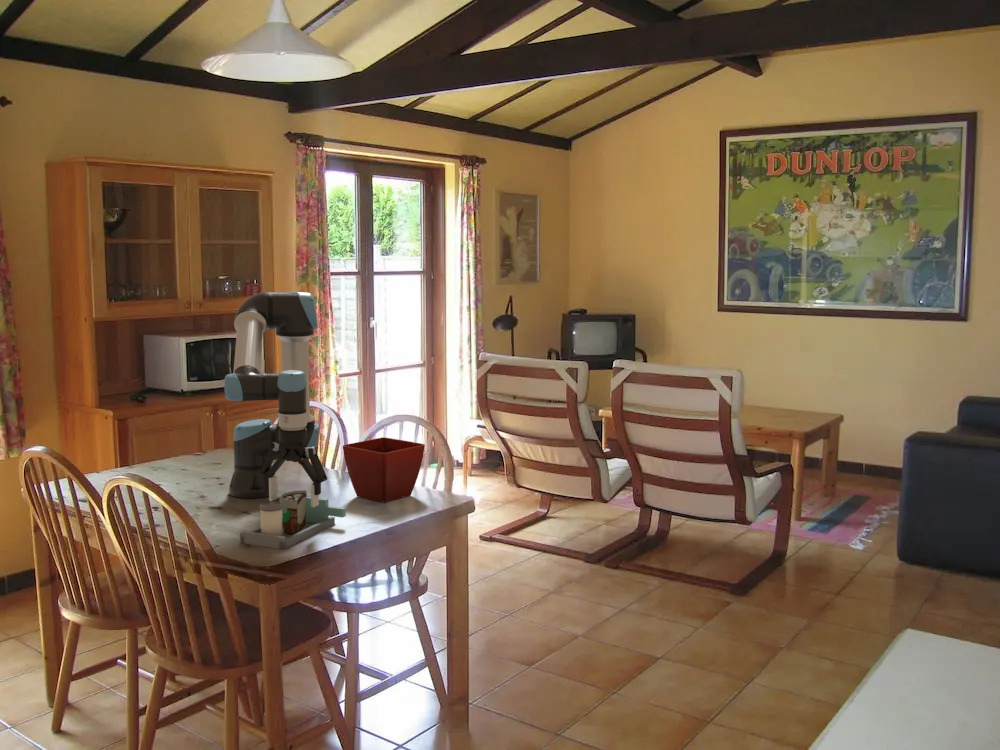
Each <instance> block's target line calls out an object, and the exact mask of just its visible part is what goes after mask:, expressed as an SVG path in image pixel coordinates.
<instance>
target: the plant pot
mask: <svg viewBox="0 0 1000 750" xmlns="http://www.w3.org/2000/svg"><path fill="white" fill-rule="evenodd" d="M425 449H426V444H424V443H419V442H415V441H409V440H403V439H397V438H391V437H383V436H382V437H379V438H373V439H372V438H371V439H366V440H363V441H358V442H357V441H356V442H353V443H346V444H344V445H342V450H343V456H344V461H345V462H344V463H345V465H346V468H347V469H346V470H347V473H348V476H349V479H350V482H351V484H352V487H353V491H354V492H355V494H356V497H358V498H362V499H363V498H364V499H368V500H371V501H376V502H380V503H388V502H392V501H395V500H399V499H402V498H406V497H410V496H411V495H412V493H413V491H414V488H415V486H416V483H417V479H418V478H419V477H418V476H419V473H420V470H421V467H422V463H423V459H424V454H425Z"/></svg>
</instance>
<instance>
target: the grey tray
mask: <svg viewBox="0 0 1000 750" xmlns="http://www.w3.org/2000/svg"><path fill="white" fill-rule="evenodd" d="M335 519H336V518H335V516H329V518H327V519H325V520H323V521H321V522H319V523H311V522H306V527H305V528H304V529H303V530H302V531H300V532H298V533H295V534H293V535H288V534H286V533H284V526H283V516H282V535H283V536H277V535H270V534H263V533H261V526H259V527H257V528H254V529H251V530H250V531H248V530H241V531H240V532H239V533H240V536H239V537H240V542H239V544H240V543H241V544H246V545H250V546H251V545H253V546H257V547H264V548H265V547H266V548H272V549H278V550H286V549H288V548H291V547H292V546H294V545H297V544H298V543H301V542H302V541H304V540H307V539H309V538H311V537H313V536H315V535H317V534H319V533H321V532H322V531H326V530H327V529H329V528H331V527H333V526H336V524H335Z"/></svg>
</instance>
